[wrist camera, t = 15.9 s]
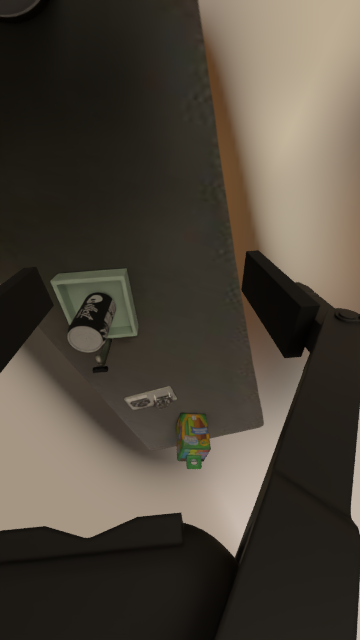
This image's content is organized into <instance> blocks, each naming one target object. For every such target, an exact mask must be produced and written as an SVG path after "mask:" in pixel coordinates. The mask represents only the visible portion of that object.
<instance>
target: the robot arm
mask: <svg viewBox="0 0 360 640" xmlns="http://www.w3.org/2000/svg"><path fill="white" fill-rule="evenodd" d="M48 1H49V0H0V21H1V22H6V23H20V22H24V21H27V20H29V19H31V18H33V17H35V16H36V15H37V14H39V13H40V12H41V11H42V10H43V9H44V7H45V6H46V4H47V3H48ZM242 292H243V294H244V295H245V297H246V298H247V300H248V301H249V303H250V304H251V306H252V308H253V309H254V311H255V312H256V314H257V316H258V317H259V319H260V320H261V322H262V323H263V325H264V326H265V328H266V330H267V331H268V333H269V334H270V336H271V338H272V339H273V341H274V342H275V344H276V345H277V347H278V348H279V350H280V352H281V353H282V355H283V356H284V358H292V357H301V356H302V353H303V350H304V348H305V347H306V348H307V350H308V351H309V352H310V355H309V357H308V360H307V362H306V364H305V367H304V370H303V373H302V376H301V379H300V382H299V384H298V387H297V390H296V393H295V395H294V398H293V401H292V404H291V406H290V409H289V412H288V415H287V417H286V420H285V423H284V426H283V429H282V431H281V434H280V437H279V439H278V442H277V445H276V448H275V451H274V453H273V456H272V459H271V462H270V464H269V467H268V470H267V473H266V476H265V478H264V481H263V484H262V487H261V489H260V492H259V495H258V497H257V500H256V503H255V506H254V508H253V511H252V513H251V516H250V519H249V521H248V524H247V526H246V529H245V532H244V535H243V537H242V540H241V543H240V545H239V548H238V551H237V553H236V556H235V558H234V557H233V555H232V554H231V553H230V552H229V551H228V550H227V549H226V548H225V547H224V546H223V545H222V544H221V543H220V542H219V541H218V540H217V539H215V538H214V537H213V536H211V535H210V534H208V533H207V532H205V531H204V530H202V529H199V528H197V527H195V526H193V525H189V524H186V523H183V521H182V515H181V513H173V514H162V515H153V516H143V517H136V518H134V519H132V520H130V521H127V522H125V523H123V524H120V525H118V526H116V527H114V528H112V529H109V530H107V531H105V532H103V533H100V534H98V535H96V536H93V537H91V538H83V537H80V536H76V535H73V534H70V533H66V532H63V531H59V530H56V529H52V528H49V527H46V526H43V527H33V528H24V529H13V530H3V531H0V640H356V637H357V636H356V635H357V618H358V601H359V582H360V534H359V530H358V527H357V526H356V525H355V523H354V522H353V520H352V518H351V496H352V486H353V474H354V464H355V453H356V442H357V441H356V440H357V431H358V420H359V409H360V408H359V407H360V314H358V313H356V312H354V311H351V310H347V309H341V308H336V309H335V308H333V307H332V306H331V305H330V304H329V303H327V302H326V301H325V300H324V299H323V298H321V297H319V295H318V294H316V293H314V291H313V290H312V289H310V288H309V287H308V286H306V285H303V284H301V283H299V282H296V283H295V282H294V281H292V280H291V279H290V278H289V277H288V276H287V275H286V274H284V273H283V272H282V271H281V270H280V269H278V267H276V266H275V265H274V264H273V263H272V262H271V261H270V260H269V259H267V258H266V257H265V256H264V255H263V254H262V253H261V252H259V251H247V252H246V258H245V266H244V275H243V282H242ZM53 306H54V305H53V302H52V300H51V298H50V296H49V294H48V292H47V289H46V287H45V285H44V283H43V281H42V279H41V276H40V274H39V272H38V270H37V268H36V267H33V268H23V269H22V270H21V271H19V272H18V273H17V274H15V275H14V276H12V277H11V278H10V279H8V280H7V281H6V282H4V283H3V284H1V285H0V373H1V372H2V370H3V369H4V368H5V367H6V365H7V364H8V363H9V361H10V360H11V359H12V357H13V356H14V355H15V354H16V353H17V351H18V350H19V348H20V347H21V346H22V345H23V343H24V342H25V341H26V340H27V339H28V337H29V336H30V335H31V334H32V332H33V331H34V330H35V328H36V327H37V326H38V325H39V323H40V322H41V321H42V320H43V318H44V317H45V316H46V315H47V313H48V312H49V311H50V309H51V308H52V307H53Z"/></svg>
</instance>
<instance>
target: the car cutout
mask: <svg viewBox="0 0 360 640" xmlns="http://www.w3.org/2000/svg"><path fill="white" fill-rule="evenodd" d="M124 399H125V401H126V402H127V403H128V404H129V406H130V407H131V408H132V409H133V410H136V409H140V408H144V407H148V406H152V405H154V406H155V407H158V408H159V409H162V408H165V407H168V405H169V403H171V402H172V401H173V400H176V399H177V398H176V396H175V394H174V392H173V390H172V389H171V387H170V386H167V387H163V388H159V389H156V390H152V391H148V392H144V393H140V394H136V395H132V396H128V397H125V398H124Z"/></svg>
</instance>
